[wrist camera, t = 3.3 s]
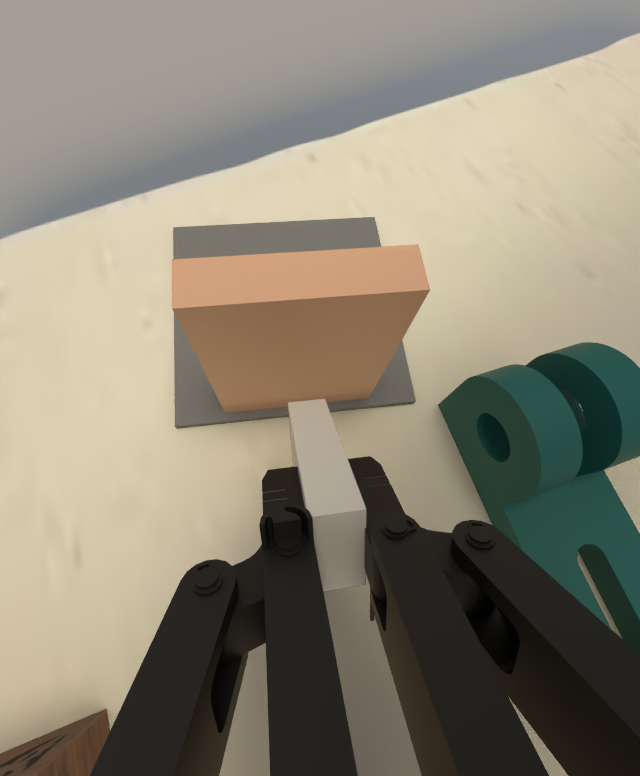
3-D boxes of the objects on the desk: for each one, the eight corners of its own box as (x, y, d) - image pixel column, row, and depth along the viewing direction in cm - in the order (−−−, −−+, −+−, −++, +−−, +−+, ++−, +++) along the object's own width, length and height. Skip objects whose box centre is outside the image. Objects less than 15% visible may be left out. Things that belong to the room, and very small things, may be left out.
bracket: (437, 406, 27) (493, 354, 19) (524, 378, 28) (609, 319, 20) (580, 720, 21) (736, 818, 14) (682, 668, 22) (877, 732, 15)
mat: (373, 221, 31) (374, 217, 31) (413, 403, 26) (415, 401, 26) (174, 231, 30) (173, 227, 29) (176, 428, 25) (175, 426, 24)
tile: (363, 367, 26) (417, 241, 15) (368, 398, 26) (430, 289, 14) (223, 380, 25) (171, 255, 14) (225, 413, 25) (172, 308, 13)
